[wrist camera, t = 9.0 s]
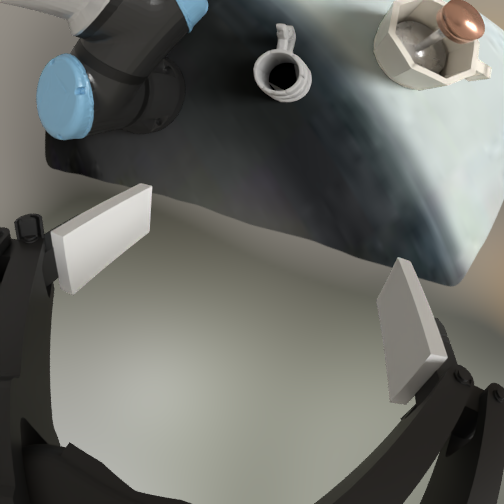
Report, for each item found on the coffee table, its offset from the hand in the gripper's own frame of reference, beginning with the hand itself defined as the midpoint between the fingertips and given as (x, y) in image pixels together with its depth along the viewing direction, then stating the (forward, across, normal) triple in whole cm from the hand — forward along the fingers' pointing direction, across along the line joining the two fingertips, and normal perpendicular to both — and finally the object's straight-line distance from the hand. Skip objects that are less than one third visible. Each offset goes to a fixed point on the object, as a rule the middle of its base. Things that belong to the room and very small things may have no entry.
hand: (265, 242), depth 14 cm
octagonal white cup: (+35, +14, +22) cm, 43 cm away
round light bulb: (+31, +12, +22) cm, 40 cm away
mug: (+35, -6, +13) cm, 38 cm away
